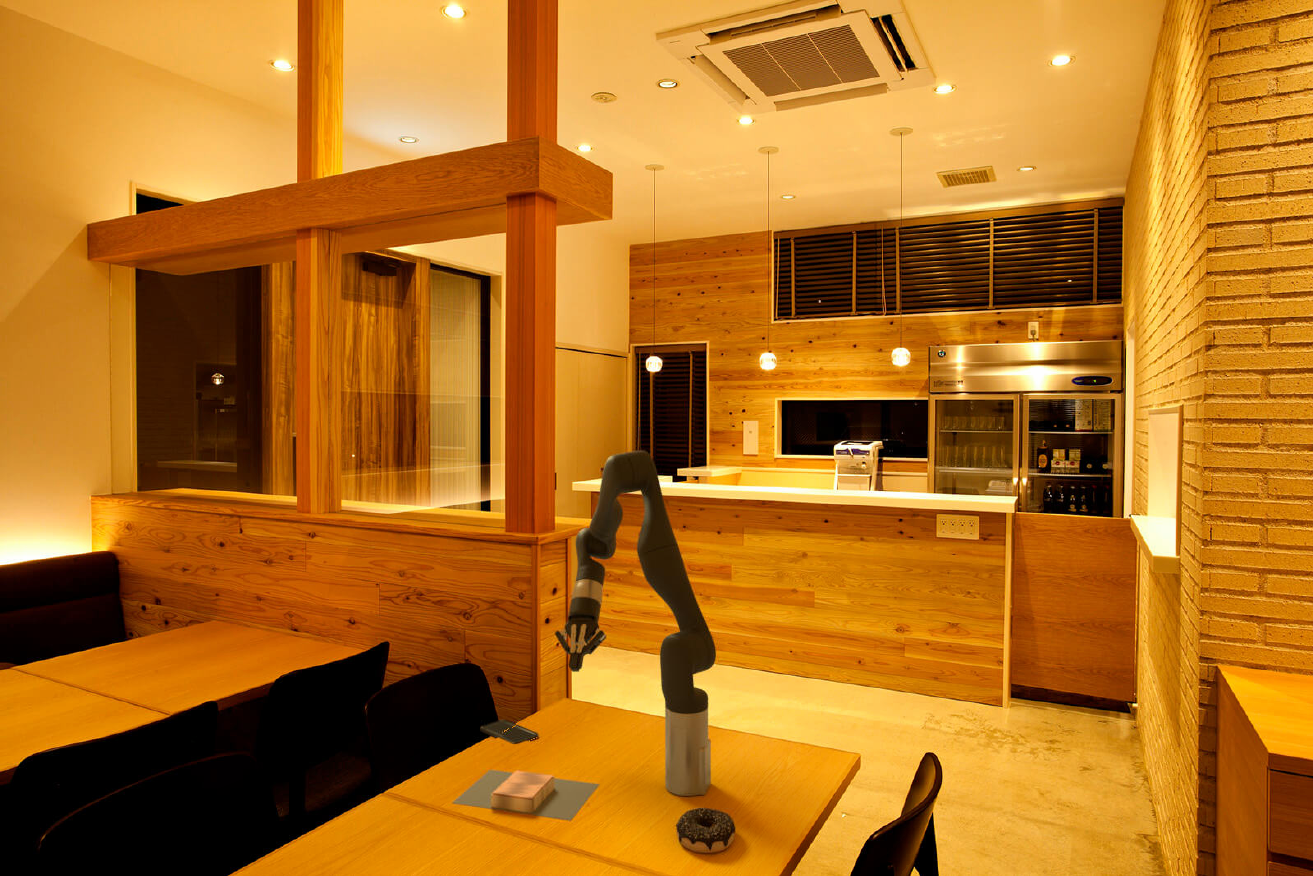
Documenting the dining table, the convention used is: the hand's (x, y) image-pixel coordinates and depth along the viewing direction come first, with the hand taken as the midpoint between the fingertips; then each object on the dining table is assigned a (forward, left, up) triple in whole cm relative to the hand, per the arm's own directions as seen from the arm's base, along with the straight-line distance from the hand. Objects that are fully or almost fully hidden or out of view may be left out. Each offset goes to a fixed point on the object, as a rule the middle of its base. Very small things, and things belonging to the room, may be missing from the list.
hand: (574, 670), depth 181 cm
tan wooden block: (+2, +17, -18) cm, 25 cm away
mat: (+2, +21, -20) cm, 29 cm away
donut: (-37, +27, -21) cm, 50 cm away
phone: (+21, -8, -21) cm, 31 cm away
